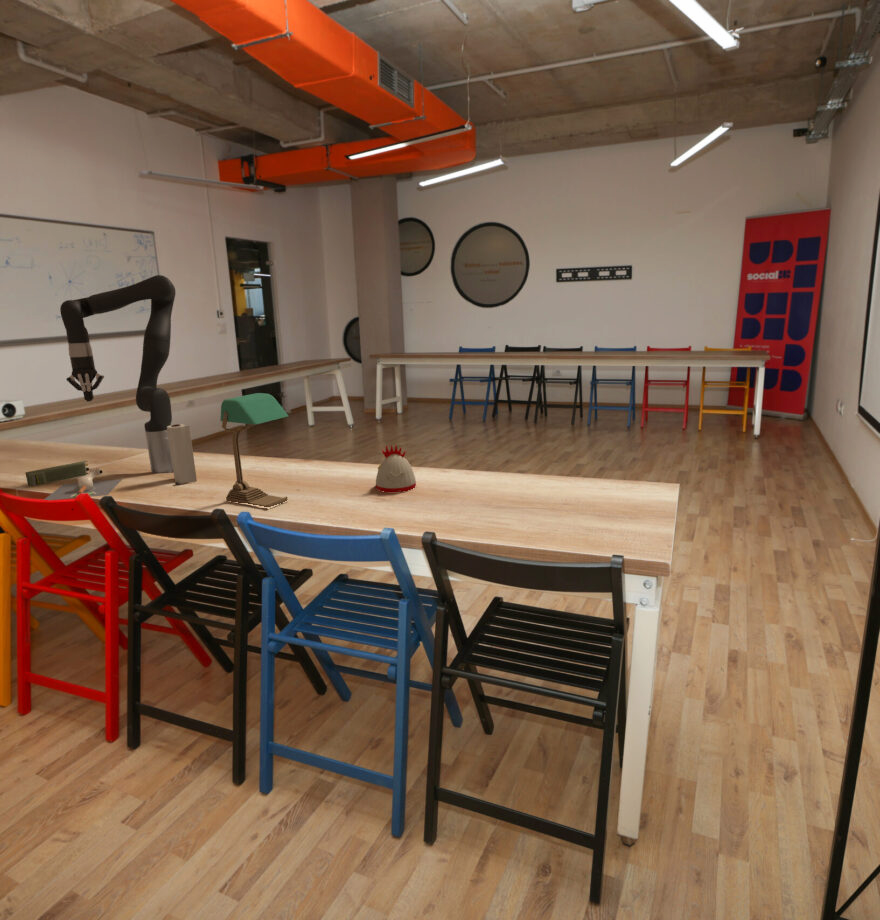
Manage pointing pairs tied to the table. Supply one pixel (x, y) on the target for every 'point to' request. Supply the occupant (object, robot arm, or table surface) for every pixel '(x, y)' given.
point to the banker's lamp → (238, 411)
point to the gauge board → (73, 490)
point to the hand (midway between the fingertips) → (89, 401)
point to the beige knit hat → (395, 472)
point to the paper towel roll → (181, 453)
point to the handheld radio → (57, 473)
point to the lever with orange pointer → (87, 480)
